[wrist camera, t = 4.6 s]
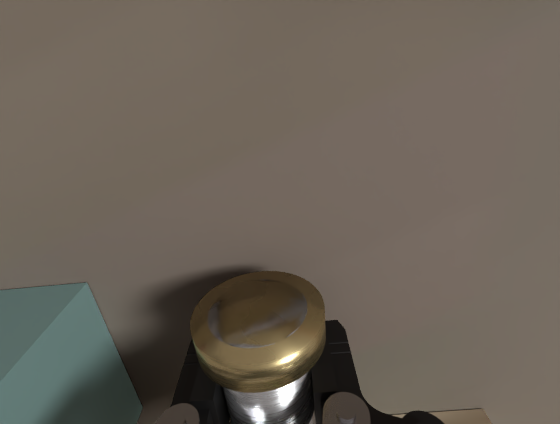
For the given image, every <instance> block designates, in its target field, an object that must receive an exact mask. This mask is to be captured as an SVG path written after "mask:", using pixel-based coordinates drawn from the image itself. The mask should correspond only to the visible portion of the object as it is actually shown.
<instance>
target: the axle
mask: <svg viewBox="0 0 560 424" xmlns="http://www.w3.org/2000/svg"><path fill="white" fill-rule="evenodd" d="M190 331H191V335H192V339H193V343H194V346H195V350H196V354H197V358H198V361H199V364H200V366H201V368H202V370H203V371H204V373H205V374H206V375H207V376H208V377H209V378H210V379H211V380H212V381H214V382H215V383H216V384H218V385H220V386H222V387H223V390H224V394H225V398H226V403H227V407H228V411H229V415H230V419H231V423H232V424H316V422H315V412H314V401H313V388H312V376H311V368H312V367H313V366H314V365H315V364H316V362H317V361H318V359H319V358H320V356H321V354H322V352H323V349H324V346H325V341H326V327H325V308H324V302H323V299H322V296H321V294H320V293H319V291H318V290H317V289H316V288H315V287H314V286H313V285H312V284H311V283H310V282H308V281H307V280H305V279H303V278H301V277H299V276H296V275H293V274H289V273H285V272H278V271H261V272H253V273H248V274H243V275H240V276H237V277H234V278H232V279H229V280H227V281H225V282H223V283H221V284H219V285H218V286H216V287H215V288H213V289H212V290H210V291H209V292H208V293H207V294H206V295H205V296H204V297H203V298H202V299H201V300H200V301H199V303H198V304H197V306H196V307H195V309H194V311H193V314H192V316H191V321H190Z"/></svg>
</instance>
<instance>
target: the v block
mask: <svg viewBox="0 0 560 424" xmlns="http://www.w3.org/2000/svg"><path fill="white" fill-rule="evenodd" d="M142 409H143V407H142V405H141V402H140V400H139V398H138V396H137V394H136V391H135V389H134V387H133V385H132V382H131V380H130V378H129V376H128V373H127V371H126V369H125V367H124V364H123V362H122V360H121V358H120V355H119V353H118V351H117V349H116V346H115V344H114V342H113V340H112V337H111V335H110V333H109V331H108V329H107V326H106V324H105V322H104V320H103V317H102V315H101V313H100V311H99V308H98V306H97V304H96V302H95V299H94V297H93V295H92V293H91V290H90V288H89V286H88V284H87V283H76V284H65V285H53V286H42V287H31V288H20V289H8V290H0V424H137V421H138V419H139V416H140V414H141V411H142Z"/></svg>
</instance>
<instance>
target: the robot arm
mask: <svg viewBox="0 0 560 424" xmlns="http://www.w3.org/2000/svg"><path fill="white" fill-rule="evenodd" d="M325 327H326V341H325V346H324V349H323V352H322V354H321V356H320V358H319V359H318V361H317V362H316V364H315V365H314V366H313V367H312V368H311V376H312V388H313V401H314V412H315V422H316V424H444V423H443V422H442V421H441V420H440V419H439V418H437V417H436V416H434V415H432V414H430V413H428V412H424V411H412V412H409V413H407V414H406V415H405V416H404V417H403V418H400V417H396V416H392V415H388V414H385V413H382V412H380V411H378V410H376V409H374V408H373V407H372V406H371V405H369V404H368V403H367V401H366V400H365V399H364V397H363V395H362V393H361V390H360V387H359V383H358V379H357V375H356V371H355V367H354V363H353V359H352V355H351V351H350V347H349V344H348V339H347V335H346V331H345V329H344V328H343V326H342V325H341V324H340V323H339V322H338V320H330V321H325ZM229 419H230V415H229V411H228V407H227V403H226V398H225V394H224V390H223V387H222V386H220V385H218V384H216V383H215V382H214V381H212V380H211V379H210V378H209V377H208V376H207V375H206V374H205V373H204V371H203V370H202V368H201V366H200V364H199V361H198V358H197V354H196V350H195V346H194V343H193V339H192V341H191V343H190V346H189V349H188V352H187V356H186V359H185V362H184V366H183V368H182V372H181V375H180V378H179V381H178V385H177V388H176V391H175V394H174V397H173V401H172V404H171V406H170V408H168V409H167V410H166V411H164V412H163V413H162V414H161V415H160V417H159V418H158V420H157V421H156V423H155V424H229Z"/></svg>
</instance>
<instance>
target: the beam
mask: <svg viewBox="0 0 560 424" xmlns="http://www.w3.org/2000/svg"><path fill="white" fill-rule="evenodd" d="M429 413H430V414H432V415H434V416H436V417H437V418H439V419H440V420H441V421H442V422H443V423H444V424H492V423H491V421H490V420H489V418H488V416H487V415H486V413H485V411H484V410H483V409H473V410H458V411H443V412H429ZM405 415H406V414H400V415H392V416H396V417H400V418H403V417H404V416H405Z"/></svg>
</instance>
